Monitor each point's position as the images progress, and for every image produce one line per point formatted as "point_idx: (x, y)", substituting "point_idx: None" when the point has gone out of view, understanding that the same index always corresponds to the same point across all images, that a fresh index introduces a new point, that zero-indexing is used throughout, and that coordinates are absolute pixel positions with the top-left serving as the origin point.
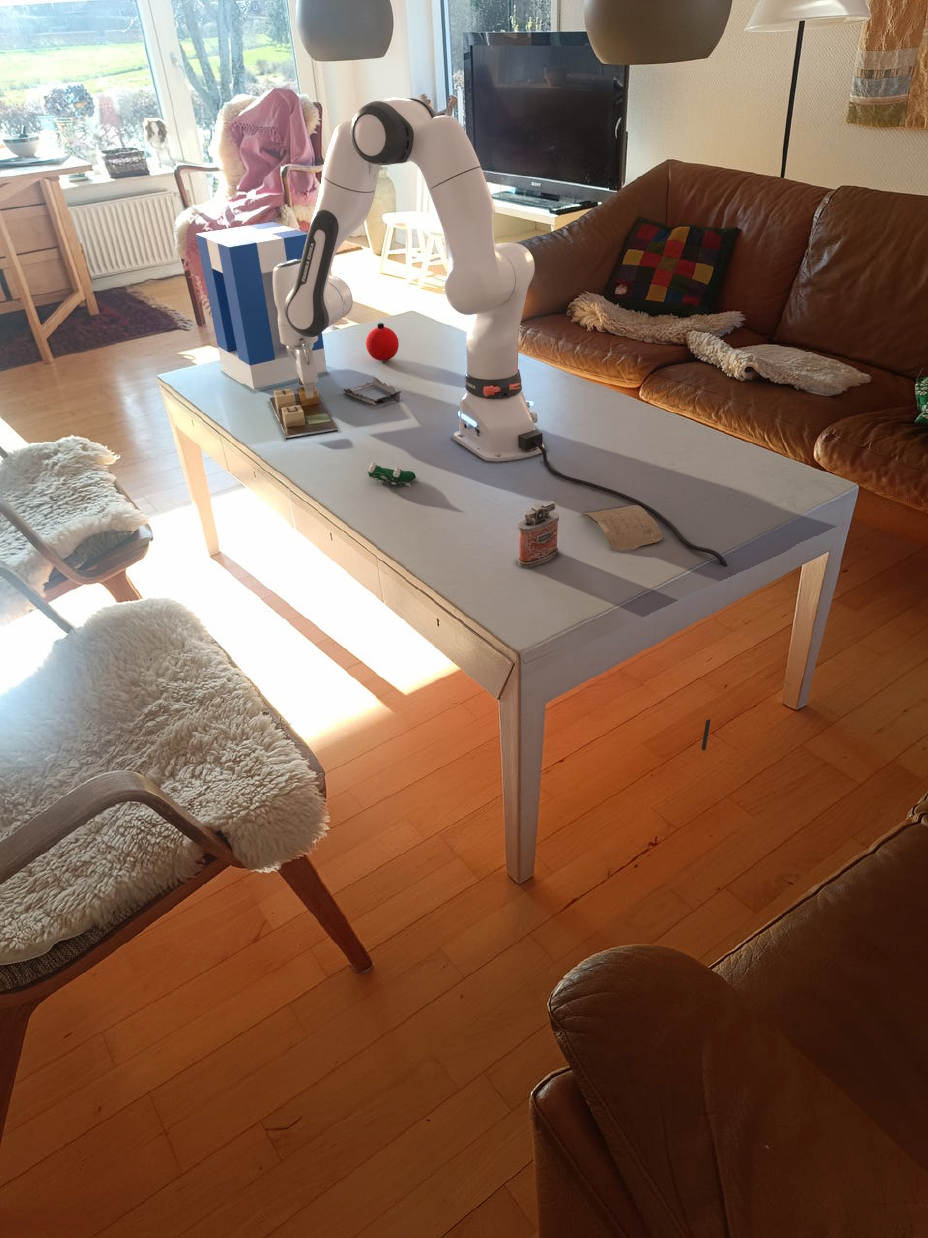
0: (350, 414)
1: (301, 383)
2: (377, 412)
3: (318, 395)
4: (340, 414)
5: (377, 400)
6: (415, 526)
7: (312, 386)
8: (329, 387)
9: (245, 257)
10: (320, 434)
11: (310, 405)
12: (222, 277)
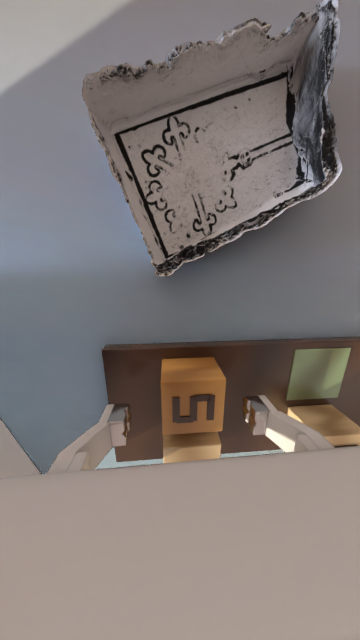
0: (299, 283)
1: (130, 419)
2: (331, 198)
3: (146, 348)
4: (284, 309)
5: (338, 168)
6: None
7: (305, 427)
8: (49, 297)
9: None
10: None
11: None
12: None
